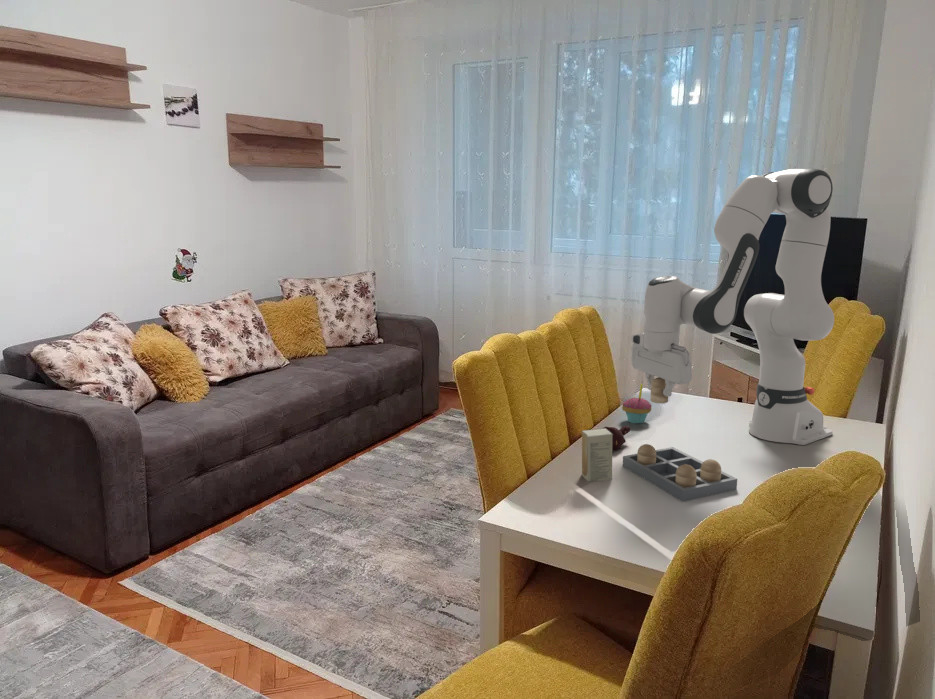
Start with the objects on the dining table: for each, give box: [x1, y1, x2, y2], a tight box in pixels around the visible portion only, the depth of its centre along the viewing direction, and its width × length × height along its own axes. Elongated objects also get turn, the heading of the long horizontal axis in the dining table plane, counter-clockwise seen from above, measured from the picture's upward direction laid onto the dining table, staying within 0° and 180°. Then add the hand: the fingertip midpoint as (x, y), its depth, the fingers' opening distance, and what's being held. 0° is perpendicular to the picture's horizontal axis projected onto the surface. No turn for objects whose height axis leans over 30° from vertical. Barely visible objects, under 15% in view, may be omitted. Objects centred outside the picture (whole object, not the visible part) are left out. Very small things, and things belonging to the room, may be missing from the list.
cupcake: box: [621, 381, 653, 424], centre depth 199 cm, size 9×8×12 cm
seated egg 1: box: [636, 443, 657, 465], centre depth 162 cm, size 4×4×6 cm
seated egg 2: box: [675, 464, 697, 488], centre depth 149 cm, size 4×4×6 cm
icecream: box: [601, 425, 631, 452], centre depth 177 cm, size 7×7×15 cm
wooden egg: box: [649, 377, 669, 404], centre depth 174 cm, size 4×4×6 cm
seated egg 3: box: [700, 458, 722, 483], centre depth 152 cm, size 4×4×6 cm
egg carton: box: [622, 446, 738, 502], centre depth 157 cm, size 15×22×4 cm
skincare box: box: [581, 427, 613, 482], centre depth 157 cm, size 6×4×12 cm
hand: (659, 392), depth 174 cm, fingers closed on wooden egg, 4 cm apart
